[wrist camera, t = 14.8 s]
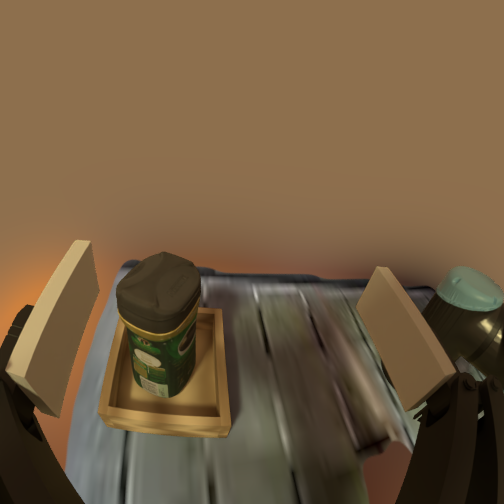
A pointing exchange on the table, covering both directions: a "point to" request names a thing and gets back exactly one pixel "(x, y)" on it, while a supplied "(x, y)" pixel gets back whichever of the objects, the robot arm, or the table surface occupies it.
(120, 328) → the pine crate
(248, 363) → the table surface
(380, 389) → the table surface
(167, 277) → the coffee jar
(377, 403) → the table surface
